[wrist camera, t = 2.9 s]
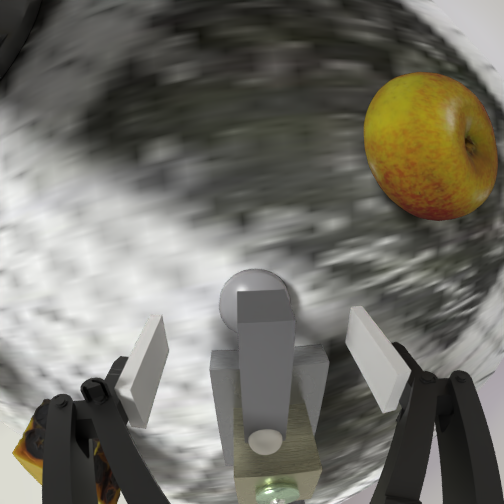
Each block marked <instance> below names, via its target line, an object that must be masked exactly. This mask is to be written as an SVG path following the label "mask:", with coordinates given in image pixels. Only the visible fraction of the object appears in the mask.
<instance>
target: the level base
mask: <svg viewBox="0 0 504 504" xmlns="http://www.w3.org/2000/svg"><path fill="white" fill-rule="evenodd" d="M328 368H329V360H328V358H327V355H326V353H325V351H324V348H323V346H322V345H312V346H300V347H294V356H293V369H292V381H291V392H290V403H289V413H288V422H287V431H286V440H285V441H282V445H281V447H280V448H279V449H278V450H277V451H276V452H275V453H273V454H270V455H261V454H258V453H256V452H254V451H253V450H252V449H251V447H250V445H249V443H245V440H244V426H243V412H242V397H241V381H240V364H239V350H223V351H212V352H211V361H210V376H211V383H212V390H213V396H214V403H215V409H216V415H217V421H218V427H219V433H220V438H221V444H222V449H223V454H224V460H225V465H226V466H234V481H235V487H236V492H237V498H238V503H239V504H287V503H291V502H293V501H297V500H304V499H311V497H312V495H313V493H314V490H315V488H316V485H317V483H318V480H319V477H320V475H321V472H322V466H321V462H320V458H319V454H318V450H317V446H316V442H315V439H314V436H315V432H316V428H317V423H318V419H319V414H320V410H321V405H322V400H323V395H324V390H325V385H326V379H327V374H328Z"/></svg>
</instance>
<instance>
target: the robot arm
mask: <svg viewBox="0 0 504 504" xmlns="http://www.w3.org/2000/svg"><path fill="white" fill-rule="evenodd" d="M40 4H41V0H0V79H1V78H2V77H3V75H4V74H5V73H6V71H7V70H8V68H9V67H10V65H11V64H12V62H13V61H14V59H15V58H16V56H17V54H18V53H19V51H20V49H21V48H22V46H23V44H24V42H25V40H26V38H27V37H28V35H29V33H30V30H31V28H32V26H33V24H34V22H35V19H36V17H37V14H38V11H39V8H40ZM345 343H346V345H347V347H348V349H349V351H350V352H351V354H352V356H353V358H354V360H355V362H356V363H357V365H358V367H359V369H360V371H361V373H362V375H363V376H364V378H365V380H366V382H367V384H368V386H369V388H370V390H371V392H372V393H373V395H374V397H375V399H376V401H377V403H378V405H379V407H380V409H381V411H382V413H386V412H390V411H394V410H396V408H397V406H398V403H400V405H401V406H402V409H401V411H400V413H399V415H398V417H397V419H396V421H397V426H396V429H395V433H394V436H393V440H392V443H391V446H390V450H389V453H388V456H387V459H386V462H385V465H384V468H383V471H382V473H381V476H380V479H379V481H378V484H377V487H376V489H375V492H374V494H373V497H372V499H371V502H370V504H422V502H420V501H419V498H420V493H421V490H422V486H423V482H424V478H425V474H426V469H427V464H428V460H429V454H430V449H431V443H432V437H433V430H434V423H435V425H436V432H437V439H438V446H439V454H440V464H441V476H442V491H443V504H504V500H503V492H502V487H501V480H500V474H499V470H498V464H497V460H496V455H495V451H494V447H493V443H492V439H491V436H490V432H489V429H488V425H487V422H486V418H485V415H484V412H483V409H482V406H481V403H480V400H479V397H478V394H477V392H476V389H475V386H474V384H473V381H472V378H471V377H470V375H469V374H468V373H467V372H464V371H460V370H457V371H454V372H452V374H451V376H450V378H444V379H438V378H437V377H436V375H434V374H433V373H431V372H428V371H423V370H422V369H421V368H420V366H419V365H418V364H417V362H416V361H415V360H414V359H413V357H411V355H410V354H409V353H408V351H407V350H406V348H405V347H404V346H403V345H401V344H399V343H398V342H394V343H390V341H389V340H388V339H387V337H386V336H385V335H384V334H383V332H382V331H381V330H380V328H379V327H378V326H377V324H376V323H375V322H374V321H373V319H372V318H371V317H370V316H369V314H368V313H367V312H366V310H365V309H364V308H363V307H362V306H355V307H351V310H350V316H349V323H348V329H347V335H346V341H345ZM168 353H169V348H168V343H167V338H166V333H165V328H164V323H163V317H162V315H150V316H149V318H148V320H147V322H146V324H145V326H144V328H143V330H142V332H141V334H140V336H139V338H138V340H137V342H136V344H135V346H134V348H133V350H132V352H131V354H130V356H129V357H123V356H120V357H119V358H118V359H117V360H116V361H114V363H113V365H112V367H111V369H110V371H109V372H108V374H107V376H106V378H105V380H103V379H101V378H90V379H88V380H86V381H85V382H84V383H83V384H82V385H81V392H82V394H83V396H84V398H85V400H82V401H73V400H72V398H71V397H70V396H69V395H67V394H59V395H56V396H55V397H53V398H52V399H51V401H50V403H49V409H48V416H47V424H46V432H45V441H44V453H43V471H42V504H98V497H97V490H96V482H95V472H94V460H93V443H92V439H95V438H99V441H100V444H101V446H102V449H103V451H104V454H105V456H106V459H107V461H108V463H109V466H110V468H111V470H112V473H113V475H114V477H115V479H116V481H117V483H118V486H119V488H120V490H121V492H122V494H123V495H124V498H125V499H126V501H127V503H128V504H170V502H169V501H168V499H167V498H166V496H165V495H164V493H163V492H162V490H161V488H160V487H159V485H158V484H157V482H156V480H155V479H154V477H153V475H152V474H151V472H150V470H149V469H148V467H147V465H146V463H145V462H144V460H143V458H142V456H141V454H140V453H139V451H138V449H137V447H136V445H135V443H134V441H133V439H132V437H131V435H130V433H129V431H128V429H127V427H126V425H127V422H128V420H129V423H130V425H131V427H137V428H145V429H146V427H147V423H148V420H149V416H150V413H151V409H152V406H153V402H154V399H155V395H156V392H157V389H158V385H159V382H160V379H161V376H162V372H163V369H164V366H165V363H166V360H167V356H168Z"/></svg>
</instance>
